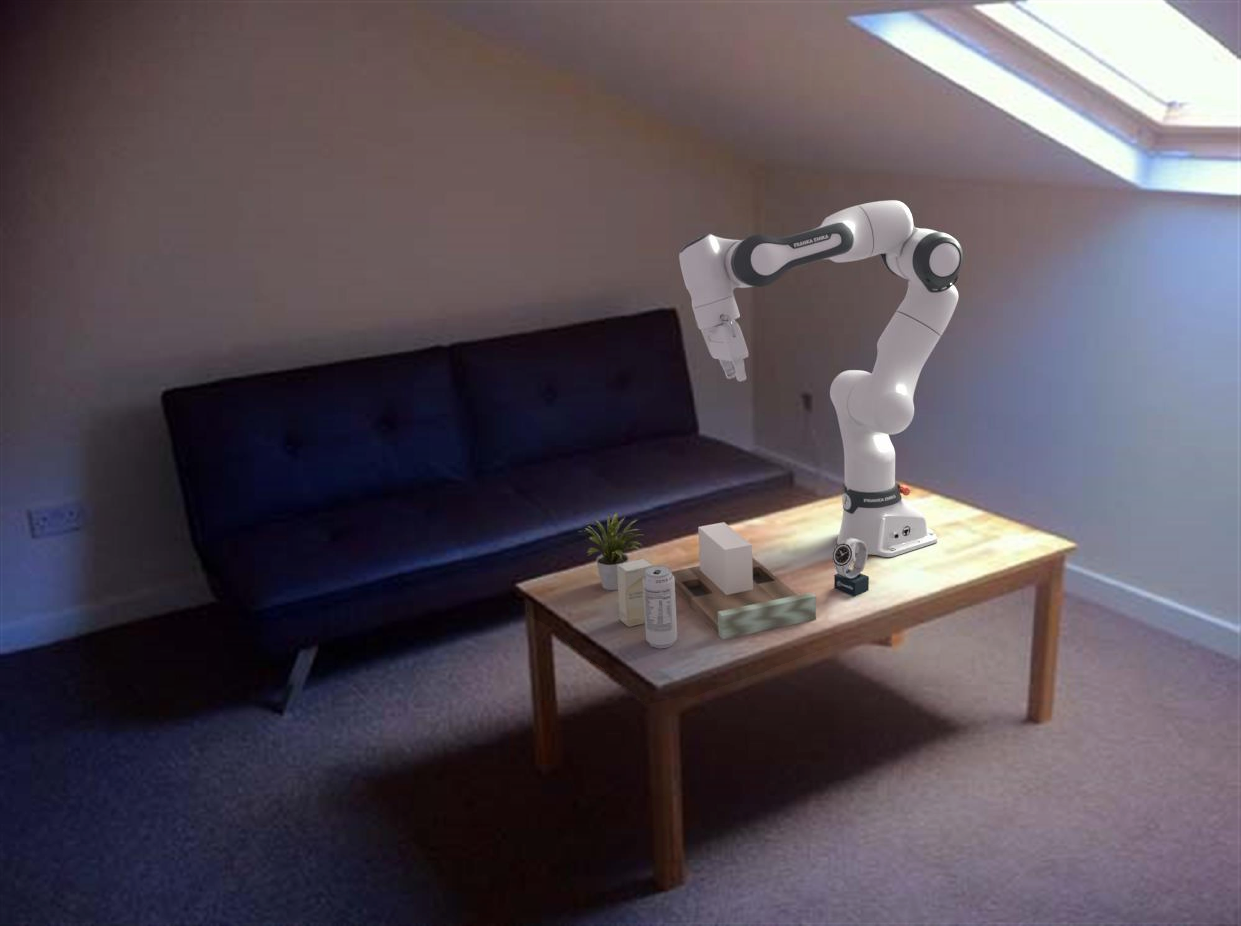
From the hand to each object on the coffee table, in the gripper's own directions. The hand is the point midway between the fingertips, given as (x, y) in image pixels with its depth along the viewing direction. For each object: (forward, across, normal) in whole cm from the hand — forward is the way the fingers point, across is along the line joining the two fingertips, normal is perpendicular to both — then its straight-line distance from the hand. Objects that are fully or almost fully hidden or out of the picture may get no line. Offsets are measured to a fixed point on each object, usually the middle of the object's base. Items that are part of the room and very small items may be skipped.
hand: (736, 379), depth 230 cm
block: (+40, -1, +15) cm, 42 cm away
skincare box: (+39, -10, +36) cm, 54 cm away
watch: (+49, -8, -8) cm, 50 cm away
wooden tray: (+43, -6, +14) cm, 46 cm away
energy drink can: (+41, -20, +33) cm, 57 cm away
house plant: (+35, +6, +38) cm, 52 cm away
